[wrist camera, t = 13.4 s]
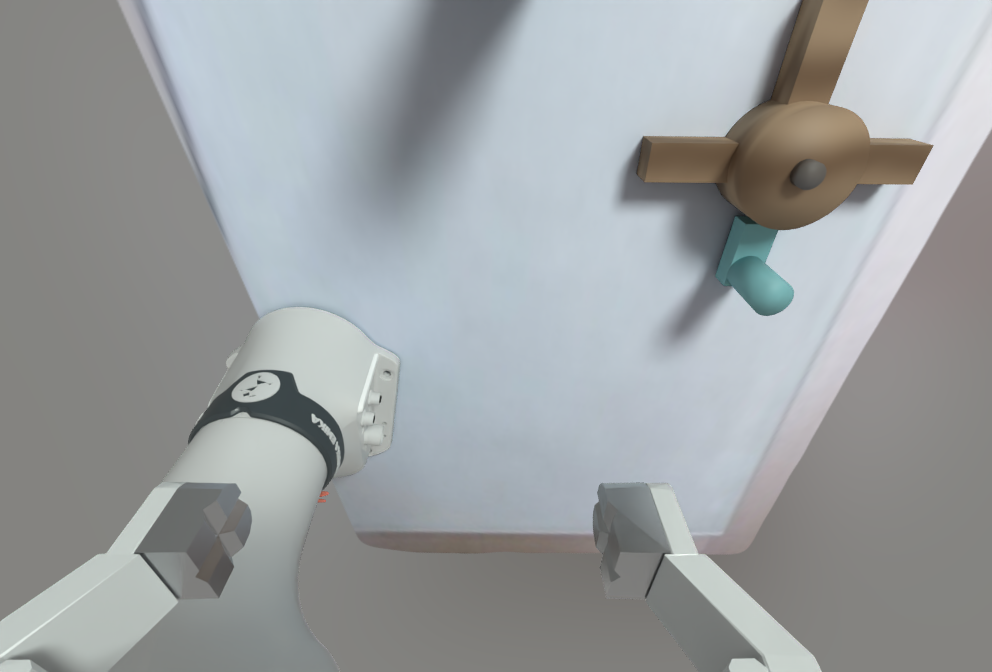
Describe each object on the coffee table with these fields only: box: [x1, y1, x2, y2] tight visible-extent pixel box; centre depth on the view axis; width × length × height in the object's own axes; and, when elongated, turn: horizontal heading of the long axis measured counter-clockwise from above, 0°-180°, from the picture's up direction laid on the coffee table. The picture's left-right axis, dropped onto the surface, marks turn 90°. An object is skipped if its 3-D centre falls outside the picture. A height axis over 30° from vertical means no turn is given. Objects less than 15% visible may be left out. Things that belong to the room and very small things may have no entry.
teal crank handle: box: [715, 216, 794, 316], centre depth 39 cm, size 6×3×7 cm, turn 179°
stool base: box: [637, 0, 933, 230], centre depth 33 cm, size 16×22×6 cm
